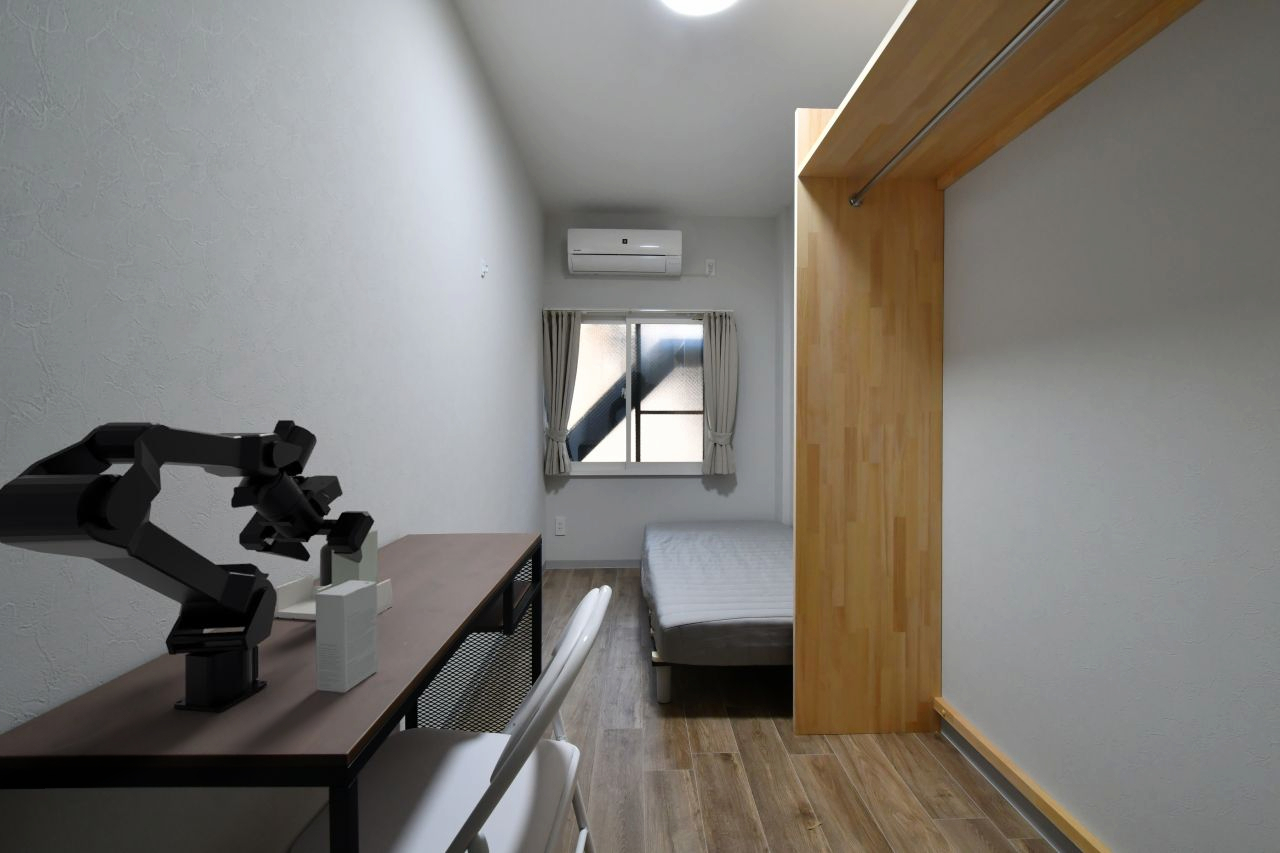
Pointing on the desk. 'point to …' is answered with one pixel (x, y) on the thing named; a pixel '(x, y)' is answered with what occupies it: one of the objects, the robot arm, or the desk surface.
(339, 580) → the sage ceramic block
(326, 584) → the supplement bottle
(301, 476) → the robot arm
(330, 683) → the skincare box
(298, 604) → the tray
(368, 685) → the desk surface
